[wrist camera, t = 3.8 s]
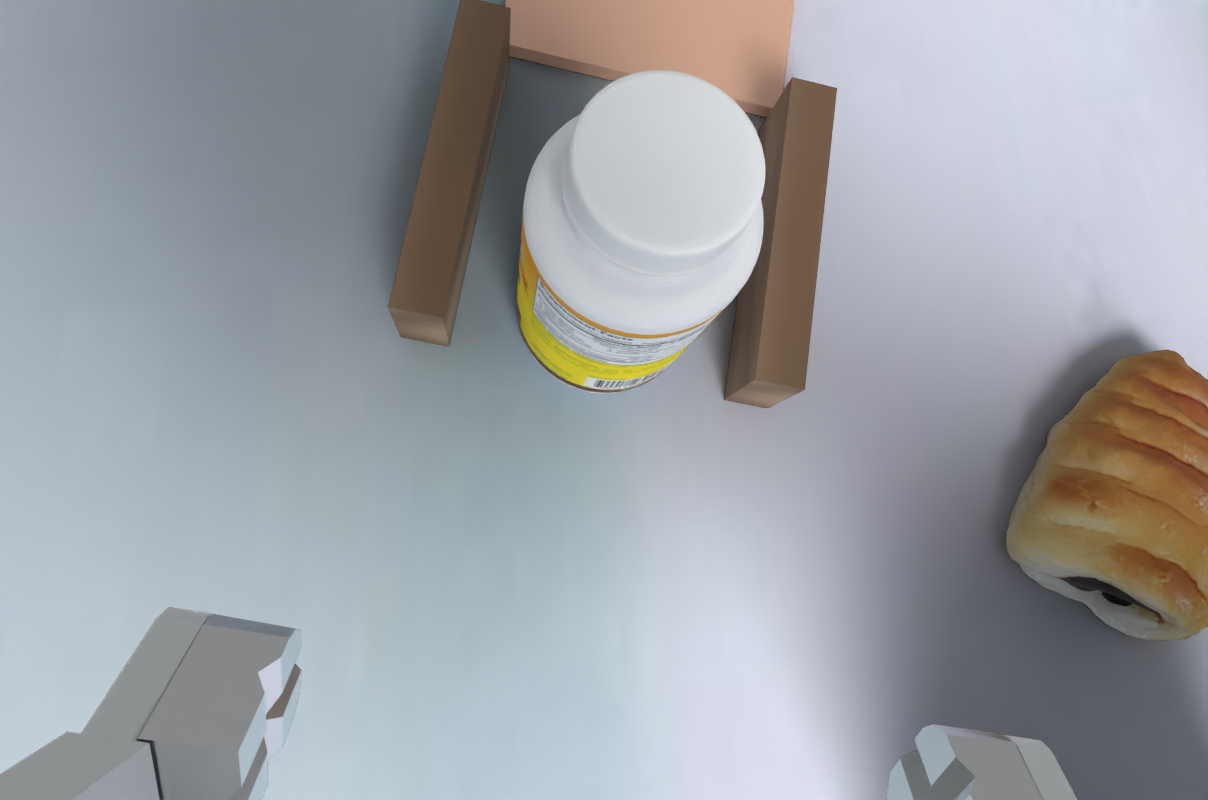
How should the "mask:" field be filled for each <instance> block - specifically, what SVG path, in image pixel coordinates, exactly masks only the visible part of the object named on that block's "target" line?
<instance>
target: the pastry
mask: <svg viewBox="0 0 1208 800" xmlns="http://www.w3.org/2000/svg"><path fill="white" fill-rule="evenodd" d="M1006 547H1007V552H1008V555H1009V557H1010V558H1011V559H1012V560H1013V561H1015V562H1017V563H1018V564H1019V565H1020V567H1021V570H1022V571H1023V572H1024V573H1025V574H1026V575H1028V576H1029V577H1030V578H1032V579H1033V580H1034V581H1036V582H1037V583H1039V584H1040V585H1042V586H1043V587H1045V588H1046V589H1049V590H1052V591H1055V592H1058V593H1060V594H1061V595H1063V596H1065V597H1068V598H1070V599H1073V600H1075V601H1079V602H1082V603H1084V604H1086V605H1087V606H1088V607H1089V608H1090V609H1091V610H1092V611H1093V612H1094V614H1095V615H1096V616H1097V617H1099V618H1100V619H1101V620H1102V621H1103V622H1105V623H1106V624H1108V625H1109V626H1110V627H1113V628H1115V629H1117V630H1119V631H1121V632H1122V633H1124V634H1126V635H1128V636H1131V637H1135V638H1140V639H1146V640H1180V639H1187V638H1189V637H1191V636H1192V635H1195V634H1197V633H1198V632H1199V631H1201V630H1202V629H1204V628H1206V627H1207V626H1208V380H1207V379H1205V378H1204V377H1203V376H1202V375H1201V374H1199V373H1198V372H1196V371H1195V370H1193V369H1192V368H1191V367H1189V366H1188V365H1187V364H1186V362H1185V360H1184V358H1183V357H1182V356H1181V355H1179V354H1178V353H1176V352H1174V351H1170V350H1161V351H1154V352H1150V353H1144V354H1141V355H1134V356H1130V357H1126V358H1122V359H1120V360H1119V361H1117V362H1116V363H1115V364H1114V365H1113V366H1112V367H1111V369H1110V370H1109V372H1108V373H1107V374H1106V375H1105V376H1103V377H1102V378H1101V379H1100V380H1099V381H1098V382H1097V384H1096V385H1095V387H1094V388H1092V389H1090V390H1089V391H1087V392H1086V393H1084V394H1083V395H1082V397H1081V398H1080V400H1079V401H1078V403H1077V404H1076V405H1075V407H1074V408H1073V409H1072V410H1071V411H1070V412H1069V413H1068V414H1067V415H1066V416H1065V417H1064V418H1063V419H1061V420H1060V421H1059V422H1057V423H1056V424H1054V425H1053V426H1052V427H1051V428H1050V430H1049V432H1048V434H1047V445H1046V447H1045V449H1044V450H1043V451H1042V452H1041V453H1040V455H1039V457H1038V459H1037V461H1036V463H1035V466H1034V468H1033V470H1032V471H1031V473H1030V475H1029V476H1028V478H1027V480H1026V481H1025V483H1024V485H1023V487H1022V489H1021V491H1020V494H1019V496H1018V498H1017V501H1016V504H1015V507H1014V509H1013V511H1012V513H1011V515H1010V519H1009V527H1008V529H1007V532H1006Z"/></svg>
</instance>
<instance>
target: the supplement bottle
mask: <svg viewBox="0 0 1208 800" xmlns="http://www.w3.org/2000/svg"><path fill="white" fill-rule="evenodd" d="M764 183H765V158H764V154H763V149H762V145H761V142H760V139H759V137H758V134H757V131H756V129H755V127H754V126H753V124H752V122H751V121H750V119H749V118H748V116H747V115H746V113H745V112H744V111H743V109H742V108H741V107H740V106H739V105H738V104H737V103H736V102H735V101H734V100H733V99H732V98H731V97H730V96H728V95H727V94H726V93H724V92H723V91H722V90H720V89H719V88H718V87H716V86H714V85H713V84H711V83H709V82H707V81H705V80H703V79H701V78H698V77H695V76H692V75H689V74H686V73H682V72H677V71H670V70H648V71H642V72H636V73H632V74H629V75H627V76H624V77H621V78H619V79H617V80H615V81H613V82H611V83H610V84H608V85H607V86H605V87H604V88H603V89H601V90H600V91H599V92H598V93H596V94H595V96H594V97H593V98H592V99H591V100H590V101H589V102H588V103H587V105H586V106H585V108H584V109H583V111H582V113H581V114H579V115H578V116H576V117H574V118H573V119H571V120H570V121H568V122H567V123H566V124H565V125H563V126H562V127H561V128H560V129H559V130H558V131H557V132H556V133H555V134H554V135H553V136H552V137H551V138H550V139H549V140H548V141H547V143H546V144H545V146H544V147H543V148H542V150H541V152H540V153H539V155H538V157H537V159H536V161H535V163H534V165H533V166H532V169H531V172H530V175H529V178H528V182H527V186H526V191H525V197H524V205H523V216H522V230H521V245H520V256H519V272H518V283H517V295H516V309H517V321H518V326H519V329H520V333H521V336H522V338H523V340H524V343H525V345H526V347H527V348H528V350H529V352H530V353H531V355H532V356H533V358H534V359H535V360H536V361H537V363H538V364H539V365H540V366H541V367H542V368H543V369H544V370H545V371H546V372H548V373H549V374H550V375H551V376H553V377H554V378H556V379H557V380H559V381H560V382H562V383H564V384H566V385H568V386H571V387H573V388H576V389H579V390H582V391H586V392H592V393H605V394H609V393H619V392H624V391H628V390H631V389H634V388H637V387H639V386H642V385H643V384H645V383H647V382H649V381H651V380H652V379H654V378H655V377H656V376H658V375H659V374H660V373H661V372H663V371H664V370H665V369H666V368H667V367H668V366H669V365H670V364H671V363H672V362H673V361H674V360H675V359H676V358H677V357H678V356H679V355H680V354H681V353H682V352H683V351H684V350H685V349H686V348H687V347H688V346H689V345H690V344H691V343H692V342H693V341H694V340H695V339H696V338H697V337H698V336H699V335H700V334H701V333H702V332H703V331H704V330H705V329H706V328H707V327H708V326H709V325H710V323H711V322H712V321H713V320H714V319H715V318H716V317H717V316H718V315H719V314H720V313H721V312H722V311H723V310H724V309H725V308H726V307H727V306H728V305H729V304H730V303H731V302H732V300H733V299H734V298H735V296H736V295H737V294H738V293H739V291H740V290H741V289H742V287H743V286H744V285H745V283H746V282H747V280H748V278H749V277H750V275H751V273H752V271H753V268H754V266H755V264H756V262H757V259H758V256H759V253H760V249H761V244H762V238H763V225H764V222H763V207H762V201H761V197H762V194H763V189H764Z"/></svg>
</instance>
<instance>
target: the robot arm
mask: <svg viewBox="0 0 1208 800" xmlns="http://www.w3.org/2000/svg"><path fill="white" fill-rule="evenodd" d="M300 649H301V629H297V628H291V627H285V626H279V625H274V624H268V623H262V622H256V621H251V620H245V619H239V618H233V617H227V616H222V615H216V614H211V613H205V612H199V611H192V610H186V609H179V608H173V607H169V608H167V609H166V610H165V611H164V612H163V613H162V614H161V615H159V616H158V617H157V618H156V619H155V621H154V622H153V624H152V625H151V627H150V628H149V630H148V631H147V633H146V635H145V636H144V638H143V639H142V641H141V642H140V644H139V645H138V647H137V648H136V650H135V651H134V653H133V655H132V656H131V658H130V659H129V661H128V662H127V664H126V665H125V667H124V668H123V670H122V671H121V673H120V674H119V676H118V678H117V679H116V681H115V682H114V684H113V685H112V687H111V688H110V690H109V691H108V693H107V694H106V696H105V697H104V699H103V701H102V702H101V704H100V705H99V707H98V708H97V710H96V711H95V713H94V714H93V716H92V717H91V719H90V720H89V722H88V724H87V725H86V727H85V728H84V730H83V731H82V733H76V732H66V733H64V734H62V735H61V736H59V737H58V738H56V739H55V740H53V741H51V742H50V743H48V744H47V745H45V746H44V747H42V748H40V749H39V750H37V751H36V752H34V753H33V754H31V755H29V756H28V757H26V758H25V759H23V760H22V761H20V762H18V763H17V764H15V765H14V766H12V767H11V768H9V769H7V770H6V771H4V772H3V773H1V774H0V800H262V799H263V796H264V794H265V791H266V789H267V786H268V759H269V758H271V757H272V756H273V755H275V754H276V753H277V752H278V751H280V750H281V749H282V748H283V746H284V743H285V741H286V738H287V736H288V733H289V730H290V728H291V725H292V722H293V718H294V714H295V711H296V707H297V704H298V700H299V694H300V687H301V669H300V668H299V667H298V666H297V665H296V664H295V661H296V659H297V656H298V654H299V651H300ZM914 739H915V742H916V745H917V748H918V750H916V751H914V752H911V753H909V754H907V755H905V756H903V757H900V758H899V760H898V761H897V763H896V764H895V766H894V767H893V769H892V770H891V772H890V775H889V782H888V788H887V800H1077V798H1076V796H1075V794H1074V792H1073V790H1072V788H1071V786H1070V784H1069V782H1068V781H1067V779H1066V777H1065V775H1064V773H1063V771H1062V769H1061V767H1060V765H1059V763H1058V762H1057V760H1056V758H1055V756H1054V754H1053V752H1052V751H1051V750H1050V749H1049V748H1048V747H1047V746H1046V745H1045V744H1044V743H1043V742H1042V741H1039V740H1035V739H1030V738H1023V737H1015V736H1007V735H1001V734H999V733H995V732H988V731H980V730H973V729H966V728H958V727H951V726H943V725H936V724H932V725H929V726H926V727H923V728H922V730H921V731H920V732H919V733H918V735H917V736H916V737H915V738H914Z"/></svg>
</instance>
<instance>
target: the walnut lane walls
mask: <svg viewBox="0 0 1208 800" xmlns="http://www.w3.org/2000/svg"><path fill="white" fill-rule="evenodd" d="M510 17H511V8H508V7H504V6H500V5H496V4H492V3H488V2H484V1H480V0H461V1H460V5H459V9H458V13H457V17H456V22H455V26H454V30H453V34H452V39H451V43H450V47H449V51H448V56H447V60H446V64H445V68H444V73H443V77H442V81H441V85H440V89H439V94H438V98H437V102H436V106H435V111H434V115H433V119H432V123H431V128H430V132H429V136H428V140H427V145H426V149H425V153H424V157H423V162H422V166H421V170H420V174H419V178H418V183H417V187H416V191H415V195H414V200H413V204H412V208H411V212H410V217H409V221H408V225H407V229H406V234H405V238H404V242H403V246H402V251H401V255H400V259H399V263H398V267H397V272H396V276H395V280H394V284H393V289H392V293H391V297H390V301H389V306H388V308H389V310H390V313H391V315H392V317H393V320H394V322H395V324H396V327H397V329H398V331H399V334H400V336H401V337H403V338H409V339H414V340H419V341H424V342H429V343H434V344H439V345H445V346H449V344H450V340H451V335H452V330H453V326H454V321H455V316H456V312H457V307H458V303H459V298H460V293H461V289H462V284H463V279H464V275H465V270H466V265H467V261H468V256H469V251H470V247H471V242H472V237H473V233H474V228H475V223H476V219H477V214H478V210H479V205H480V200H481V196H482V191H483V186H484V182H485V177H486V172H487V168H488V163H489V158H490V154H491V149H492V144H493V140H494V135H495V130H496V126H497V121H498V116H499V112H500V107H501V103H502V98H503V93H504V89H505V84H506V79H507V75H508V70H509V46H510ZM836 92H837V88H834V87H830V86H826V85H822V84H818V83H814V82H810V81H805V80H801V79H797V78H793V77H792V78H791V80H790V82H789V83H788V85H787V86H786V88H785V89H784V91H783V93H782V94H781V96H780V97H779V99H778V100H777V102H776V103H775V105H774V107H773V108H772V110H771V111H770V113H769V114H768V116H767V118H766V119H765V121H764V122H763V124H762V125H761V127H760V129H759V136H758V137H759V139H760V142H761V145H762V149H763V154H764V158H765V183H764V189H763V194H762V197H761V201H762V207H763V222H764V225H763V238H762V244H761V249H760V253H759V256H758V259H757V262H756V264H755V266H754V268H753V271H752V273H751V275H750V277H749V278H748V280H747V282H746V283H745V285H744V286H743V287H742V289H741V290H740V291H739V293H738V297H737V305H736V312H735V320H734V328H733V335H732V343H731V351H730V358H729V366H728V373H727V381H726V389H725V396H724V400H728V401H733V402H738V403H743V404H748V405H754V406H759V407H764V408H769V407H771V406H773V405H775V404H777V403H779V402H781V401H783V400H785V399H787V398H789V397H791V396H793V395H795V394H797V393H799V392H801V391H803V390H805V381H806V372H807V362H808V353H809V344H810V334H811V325H812V316H813V306H814V297H815V288H816V278H817V269H818V260H819V250H820V241H821V232H822V223H823V213H824V204H825V195H826V185H827V176H828V167H829V157H830V148H831V139H832V129H833V120H834V111H835V101H836Z"/></svg>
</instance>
